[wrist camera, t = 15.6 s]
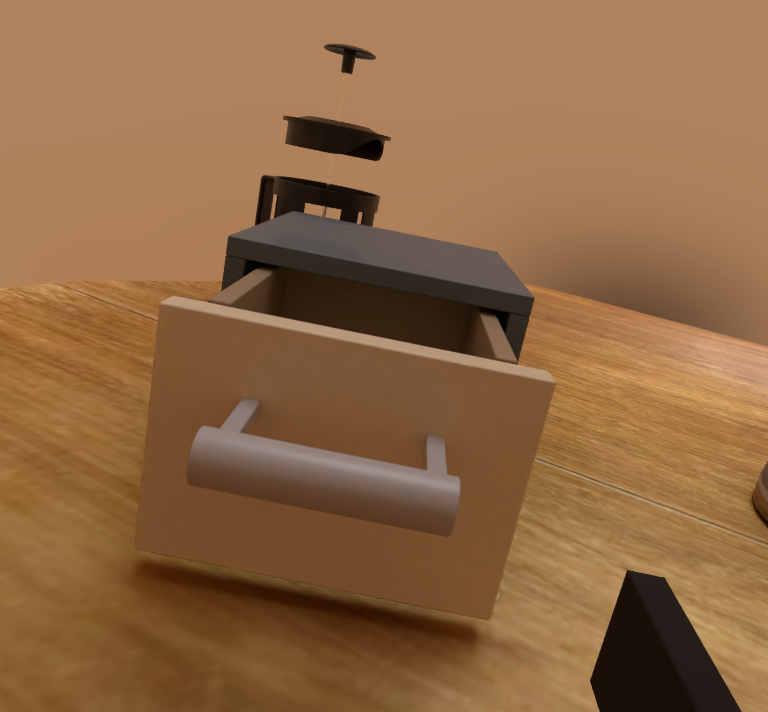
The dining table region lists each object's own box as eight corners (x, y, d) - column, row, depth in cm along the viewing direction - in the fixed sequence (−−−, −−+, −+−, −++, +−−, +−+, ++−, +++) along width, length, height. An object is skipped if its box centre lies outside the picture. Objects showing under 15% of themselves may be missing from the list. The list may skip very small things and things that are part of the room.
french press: (382, 332, 63) (434, 67, 57) (327, 347, 55) (381, 40, 49) (279, 298, 68) (317, 51, 62) (214, 308, 60) (250, 24, 54)
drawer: (506, 732, 19) (594, 442, 17) (63, 643, 19) (86, 340, 17) (465, 451, 38) (503, 294, 35) (240, 405, 38) (263, 246, 35)
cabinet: (479, 512, 33) (535, 297, 30) (199, 456, 33) (228, 235, 30) (461, 402, 49) (497, 252, 46) (269, 364, 49) (292, 210, 46)
